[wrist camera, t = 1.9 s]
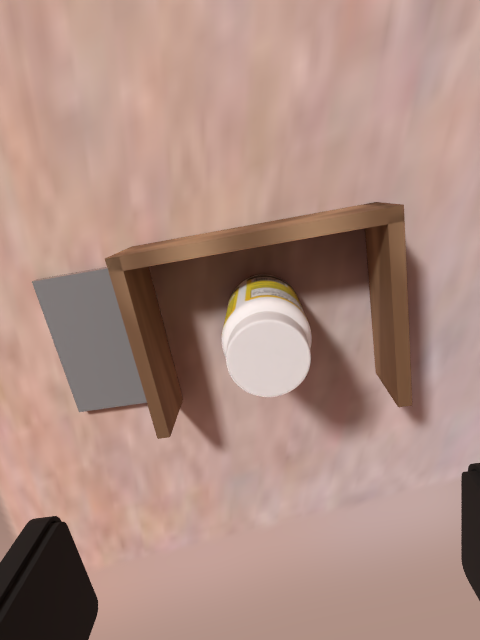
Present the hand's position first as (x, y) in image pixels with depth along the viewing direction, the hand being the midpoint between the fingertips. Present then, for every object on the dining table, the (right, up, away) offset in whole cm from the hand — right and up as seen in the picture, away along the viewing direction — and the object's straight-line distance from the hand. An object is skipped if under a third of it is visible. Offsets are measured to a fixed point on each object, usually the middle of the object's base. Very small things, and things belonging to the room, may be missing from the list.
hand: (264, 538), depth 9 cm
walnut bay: (+1, +6, +17) cm, 18 cm away
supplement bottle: (+1, +6, +17) cm, 18 cm away
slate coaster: (-10, +4, +18) cm, 21 cm away
